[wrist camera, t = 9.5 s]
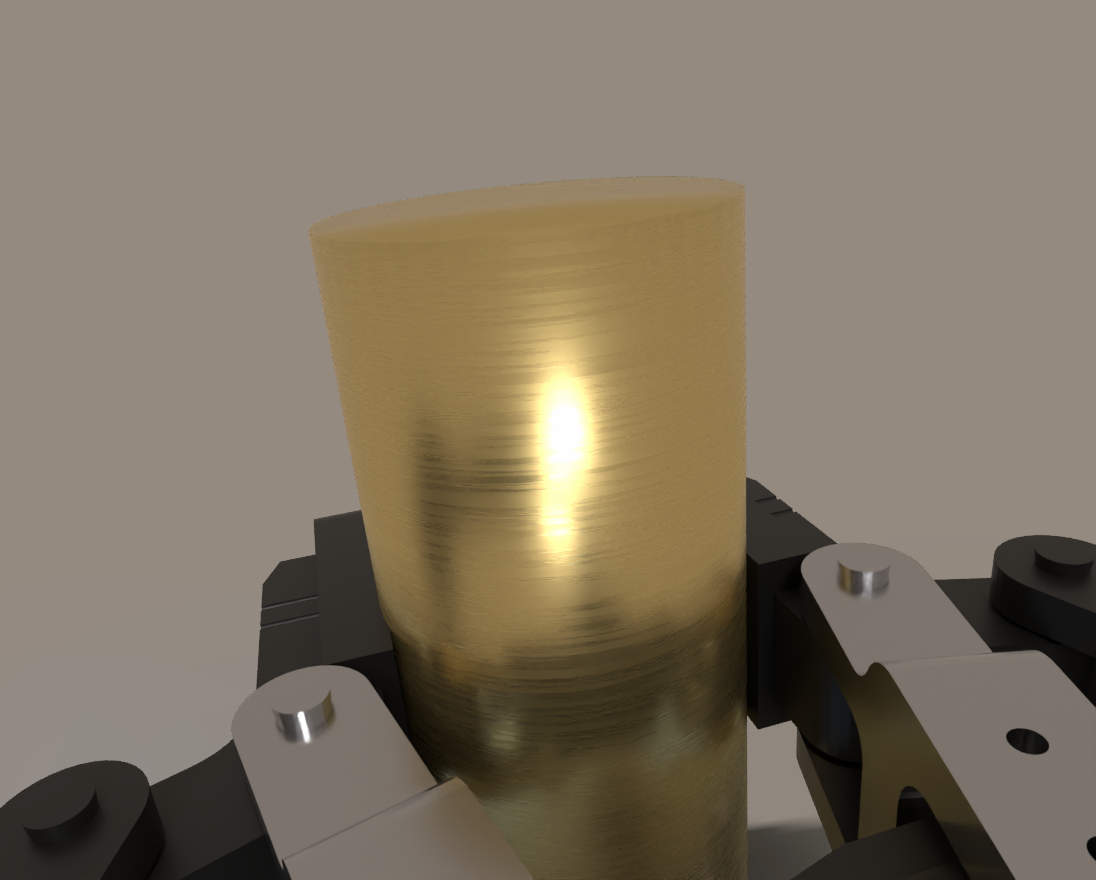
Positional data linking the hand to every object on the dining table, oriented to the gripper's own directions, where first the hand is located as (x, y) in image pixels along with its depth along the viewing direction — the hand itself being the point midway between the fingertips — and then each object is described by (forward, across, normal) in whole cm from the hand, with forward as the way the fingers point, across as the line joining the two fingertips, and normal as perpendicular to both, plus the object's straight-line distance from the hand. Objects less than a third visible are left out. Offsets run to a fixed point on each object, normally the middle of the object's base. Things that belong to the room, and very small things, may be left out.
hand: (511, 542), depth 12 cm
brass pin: (-3, 0, +6) cm, 7 cm away
